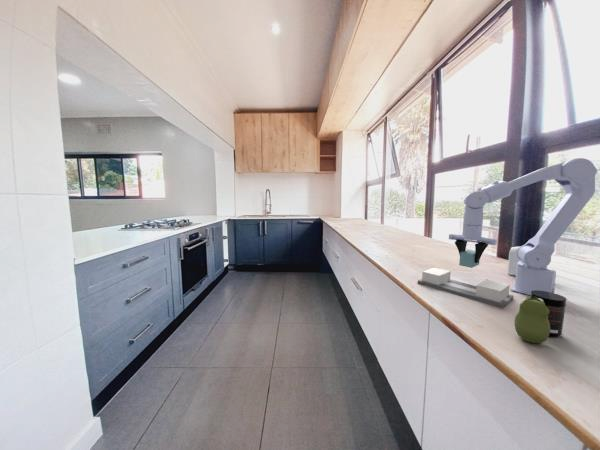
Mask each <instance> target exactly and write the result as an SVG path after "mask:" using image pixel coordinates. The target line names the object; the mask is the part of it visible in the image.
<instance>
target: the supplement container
mask: <svg viewBox="0 0 600 450" xmlns="http://www.w3.org/2000/svg"><path fill="white" fill-rule="evenodd" d="M534 296H536V297H537V298H541V299H542V300H544V303H545V305H546V307H547V308H548V309H549V314H548V321H549V323H550V334H549V337H550V338H558V337H561V336H562V334H563V328H564V320H565V319H564V318H565V312H566V306H567V300H568V299H567V298H566V297H565V296H563V295H560V294H558V293H555V292H554V293H551V292H546V291H537V290H535V291H531V295H530V296H529V297H531V298H532V297H534ZM534 298H535V297H534ZM549 337H548V338H549Z"/></svg>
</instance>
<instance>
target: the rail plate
mask: <svg viewBox="0 0 600 450" xmlns="http://www.w3.org/2000/svg"><path fill="white" fill-rule="evenodd" d="M451 272H452V271H451V270H447V269H443V268H440V267H439V268H438V267H431V268H428V269H425V270H423V271H422V273H421V274H422V276H421V278H420V279H418V280H417V283H418V284H420V285H423V286H426V287H427V286H428V287H430V288H434V289H437V290H440V291H444V292H448V293H450V294H454V295H458V296H460V297H465V298H468V299H472V300H475V301H479V302H481V303H485V304H488V305H492V306H495V307H498V308H501V309H503V308H505V306H507V305H508V304H509V303H510V302H511V301H512V300H514V295H513V294H510V285H511V284H509V283H503V282H501V281H495V280H490V279H485V280H483V281H481V282H480V283H477V284H476V285H473V284H470V283H466V282H462V281H457V280H453V279H451Z"/></svg>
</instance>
